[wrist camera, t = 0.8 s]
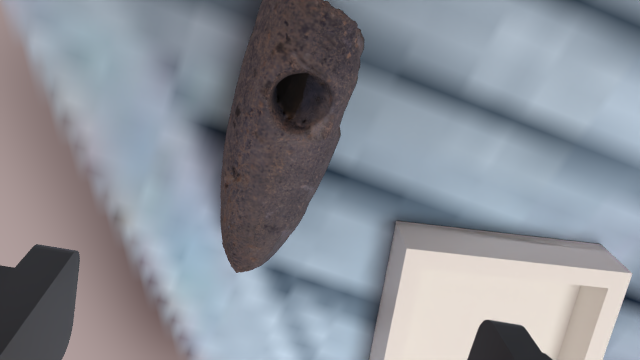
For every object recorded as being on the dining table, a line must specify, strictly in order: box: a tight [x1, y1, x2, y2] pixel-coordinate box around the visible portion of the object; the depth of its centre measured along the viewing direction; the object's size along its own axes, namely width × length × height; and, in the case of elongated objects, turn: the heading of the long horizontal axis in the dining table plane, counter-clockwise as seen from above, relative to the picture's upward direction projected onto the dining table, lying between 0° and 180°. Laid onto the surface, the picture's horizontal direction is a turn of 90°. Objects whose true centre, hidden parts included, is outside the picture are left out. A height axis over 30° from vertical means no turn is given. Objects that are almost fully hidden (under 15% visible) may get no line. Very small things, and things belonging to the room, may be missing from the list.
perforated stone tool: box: [221, 0, 364, 273], centre depth 29 cm, size 15×5×7 cm, turn 162°
